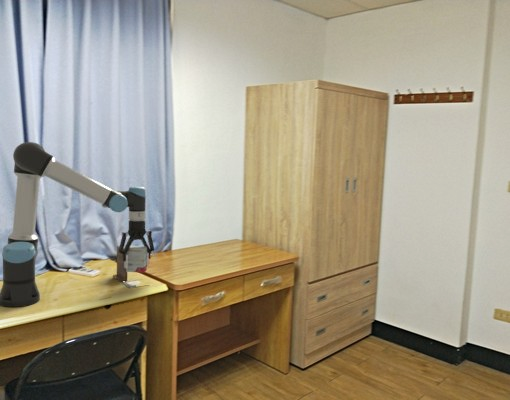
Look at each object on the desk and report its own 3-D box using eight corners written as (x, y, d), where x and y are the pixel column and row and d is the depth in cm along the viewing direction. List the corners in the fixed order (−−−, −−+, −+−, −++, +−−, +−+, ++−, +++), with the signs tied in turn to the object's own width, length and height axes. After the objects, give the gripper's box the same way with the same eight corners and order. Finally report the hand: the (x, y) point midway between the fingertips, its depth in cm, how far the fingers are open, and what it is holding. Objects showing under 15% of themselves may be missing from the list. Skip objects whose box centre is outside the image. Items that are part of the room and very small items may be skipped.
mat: (128, 288, 213) (128, 287, 213) (122, 282, 222) (122, 281, 222) (149, 285, 219) (149, 284, 219) (142, 280, 227) (142, 279, 227)
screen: (120, 282, 222) (121, 251, 221) (113, 276, 232) (113, 246, 231) (127, 281, 224) (127, 250, 222) (119, 275, 234) (120, 246, 232)
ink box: (147, 270, 222) (147, 246, 220) (143, 273, 217) (144, 248, 216) (129, 269, 223) (129, 245, 221) (125, 272, 218) (126, 247, 216)
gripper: (115, 222, 208) (115, 271, 210) (162, 219, 220) (161, 266, 222) (111, 219, 214) (110, 267, 217) (156, 217, 226) (155, 262, 229)
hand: (136, 266), depth 219 cm, fingers closed on ink box, 9 cm apart
